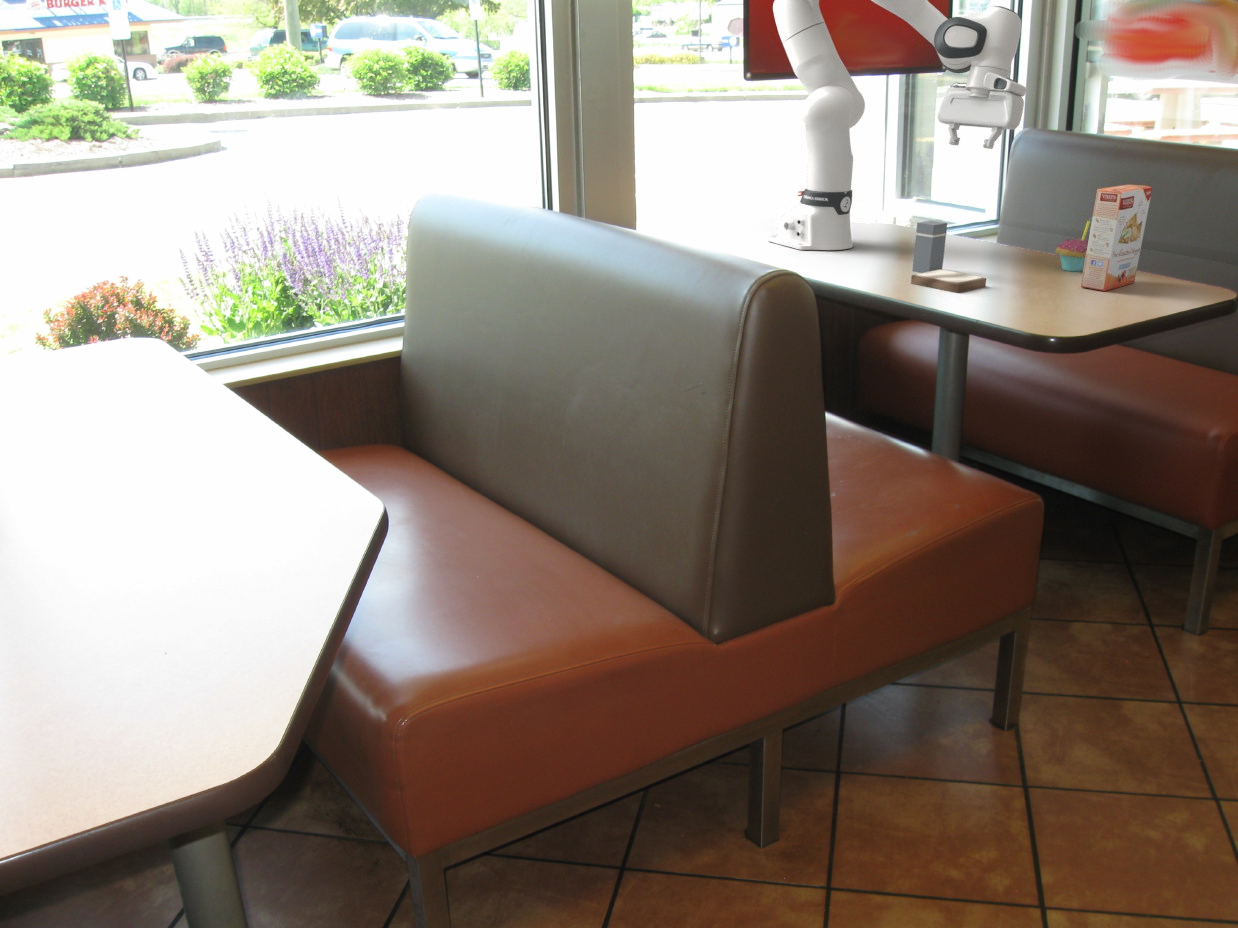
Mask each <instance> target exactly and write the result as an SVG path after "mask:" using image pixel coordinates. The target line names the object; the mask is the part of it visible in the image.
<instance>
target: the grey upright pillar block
mask: <svg viewBox="0 0 1238 928" xmlns="http://www.w3.org/2000/svg"><path fill="white" fill-rule="evenodd" d="M947 229H948V222H944V221H936V220H925V221H919V222H917V223H916V232H915V241H914V243H915V244H914V251H913V252H914V253H913V260H912V261H913V263H912V272H914V273H919V274H920V273H925V272H929V271H934V270H939V269H941V270H943V268H944V267H943V266H944V259H945V258H944V257H945V247H946V239H947Z"/></svg>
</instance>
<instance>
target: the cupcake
mask: <svg viewBox="0 0 1238 928" xmlns="http://www.w3.org/2000/svg"><path fill="white" fill-rule="evenodd" d="M1088 219H1089V220H1087V221H1086V224H1085V227H1084V231H1083V234H1082V237H1081V238H1071V239H1065V240H1063V241H1062V242H1060V243H1058V245H1057V246H1056V248H1055V254H1056V255H1057V254H1058V256H1059V258H1060V262H1061V270H1064V271H1066V272H1083V270H1084V264H1085V258H1086V253H1087V247H1088V241H1089V240H1086V236H1087V234H1088V230H1089V228H1090V227H1089V226H1090V225H1091V220H1092V217H1089V218H1088Z"/></svg>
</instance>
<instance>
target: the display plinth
mask: <svg viewBox="0 0 1238 928" xmlns="http://www.w3.org/2000/svg"><path fill="white" fill-rule="evenodd" d="M986 283H987V277H986V278H985V277H983V276H978V275H973V274H967V273H962V272H957V271H951V270H947V269H942V270H941V269H939V270H934V271H929V272H925V273H920V272H919V273H915V274H912V275H911V280H910V284H913V285H917V286H922V287H927V288H933V289H936V290H941V291H946V292H950V293H951V292H952V293H955V294H959V293H963V292H968V291H973V290H976V289H981V288H985V287H986V285H987V284H986Z"/></svg>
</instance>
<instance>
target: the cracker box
mask: <svg viewBox="0 0 1238 928" xmlns="http://www.w3.org/2000/svg"><path fill="white" fill-rule="evenodd" d="M1152 192H1153V187H1152V186H1148V185H1142V184H1141V185H1139V184H1124V185H1123V184H1122V185H1117V186H1110V187H1102V188H1097V190H1096V195H1095V200H1094V207H1093V213H1092V217H1091V222H1090V228H1089V229H1090V230H1089V236H1088V237H1089V238H1088V240H1087V241H1088V247H1087V253H1086V258H1085V264H1084V270H1083V271H1082V277H1081V282H1080V287H1081V288H1084V289H1090V290H1095V291H1101V292H1102V291H1103V292H1106V291H1110V290H1113V289H1117V288H1119V287H1123V286H1128V285H1131V284H1134V283H1135V282H1136V275H1137V271H1138V265H1139V260H1140V255H1141V251H1142V250H1141V249H1142V244H1143V240H1144V234H1145V228H1146V223H1147V218H1148V214H1149V213H1148V212H1149V209H1150V202H1151V198H1152Z"/></svg>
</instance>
